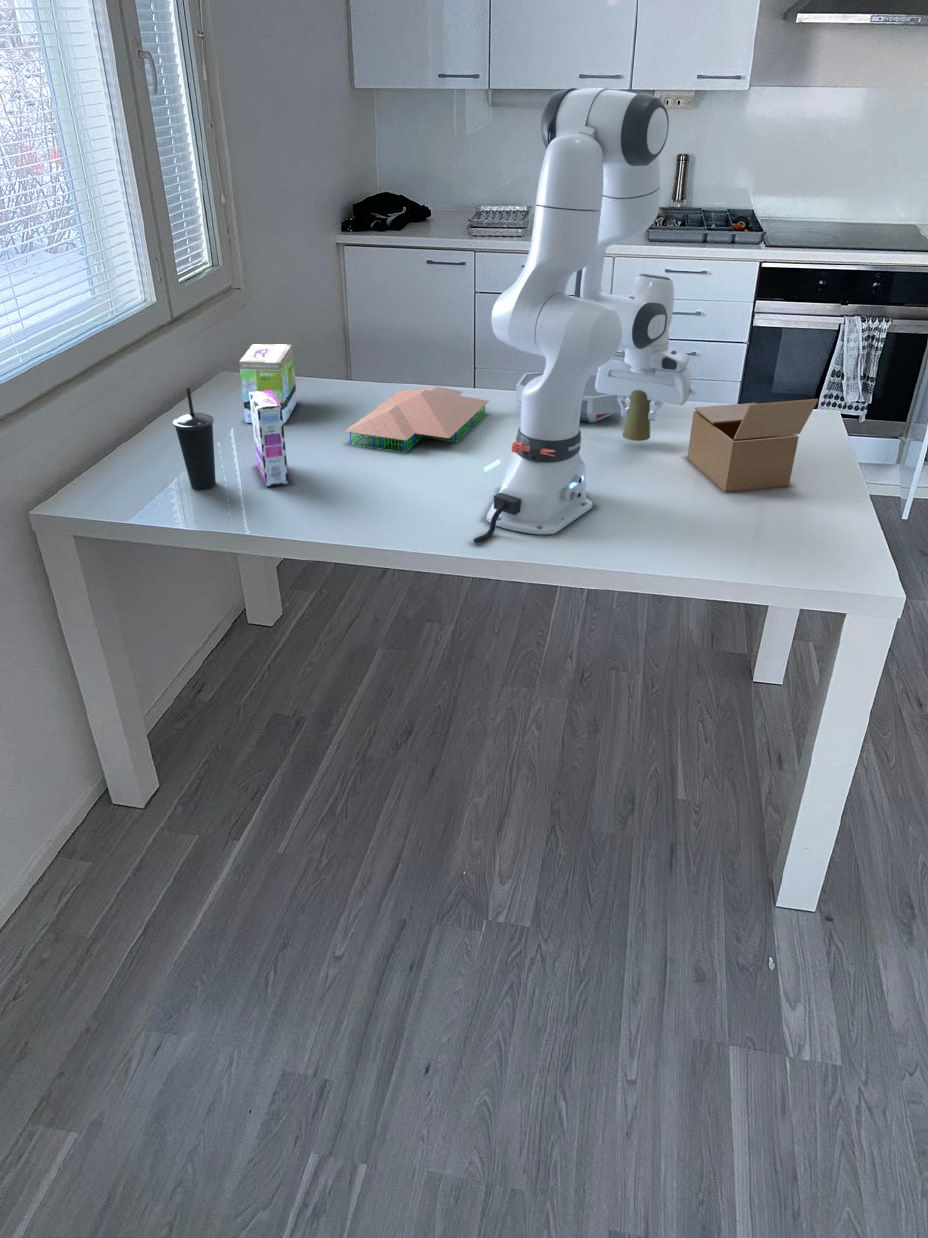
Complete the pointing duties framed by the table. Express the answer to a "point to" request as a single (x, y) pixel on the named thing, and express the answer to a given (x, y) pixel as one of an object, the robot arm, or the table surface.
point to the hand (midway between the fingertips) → (638, 417)
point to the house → (419, 416)
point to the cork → (638, 417)
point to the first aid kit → (592, 401)
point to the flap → (775, 419)
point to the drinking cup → (197, 446)
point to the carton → (738, 451)
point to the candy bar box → (269, 437)
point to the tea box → (269, 375)
